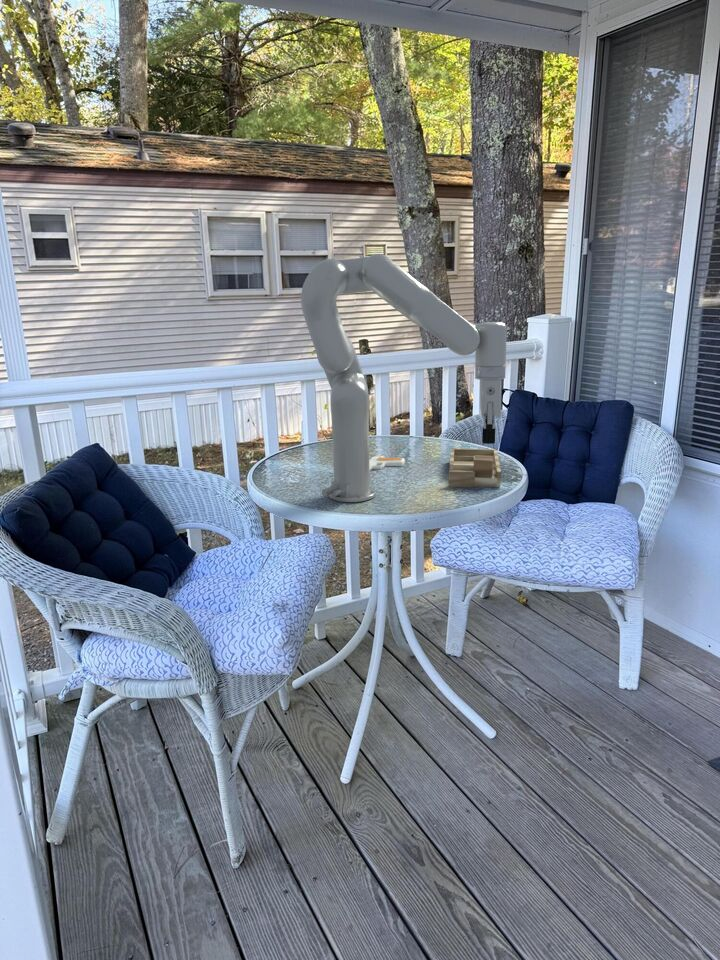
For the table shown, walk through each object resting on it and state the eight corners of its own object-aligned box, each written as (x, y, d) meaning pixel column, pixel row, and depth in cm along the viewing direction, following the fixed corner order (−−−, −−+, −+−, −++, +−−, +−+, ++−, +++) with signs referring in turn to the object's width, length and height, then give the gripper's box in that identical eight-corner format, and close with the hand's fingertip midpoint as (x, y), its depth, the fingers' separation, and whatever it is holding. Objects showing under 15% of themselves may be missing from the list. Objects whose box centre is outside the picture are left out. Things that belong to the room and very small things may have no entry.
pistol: (386, 481, 184) (350, 477, 188) (408, 463, 201) (374, 460, 206) (386, 473, 183) (350, 470, 187) (408, 456, 201) (374, 453, 205)
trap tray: (500, 488, 174) (501, 473, 173) (448, 486, 176) (449, 471, 175) (496, 462, 198) (496, 449, 197) (450, 461, 201) (451, 448, 199)
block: (491, 478, 174) (492, 460, 173) (473, 477, 176) (473, 459, 174) (492, 473, 179) (493, 455, 178) (474, 472, 180) (475, 455, 179)
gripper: (507, 376, 153) (504, 450, 159) (503, 368, 167) (501, 436, 173) (475, 376, 155) (474, 450, 160) (474, 368, 169) (473, 436, 174)
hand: (488, 442), depth 166 cm, fingers closed
